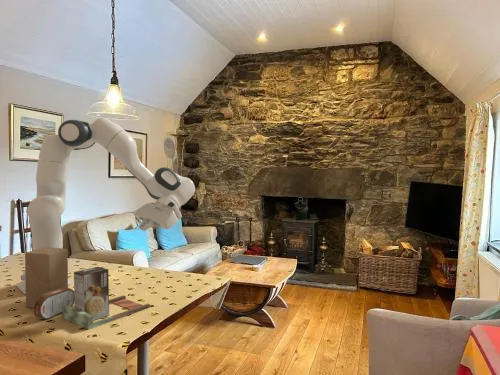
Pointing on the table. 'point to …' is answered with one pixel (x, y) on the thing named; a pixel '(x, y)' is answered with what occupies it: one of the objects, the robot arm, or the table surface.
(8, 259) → the table surface
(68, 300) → the tin
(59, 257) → the wooden block
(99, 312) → the coffee box
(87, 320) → the brown low open piece
